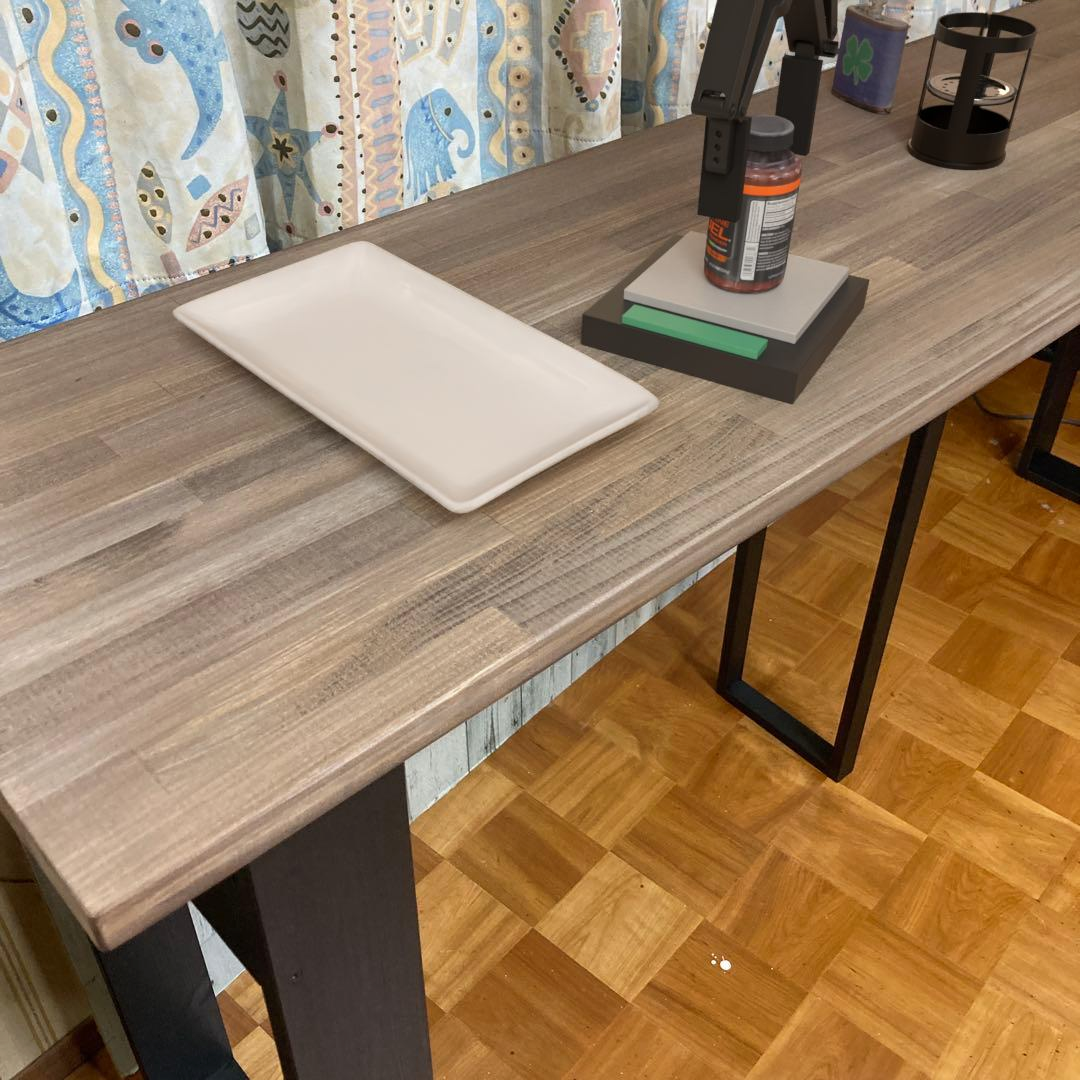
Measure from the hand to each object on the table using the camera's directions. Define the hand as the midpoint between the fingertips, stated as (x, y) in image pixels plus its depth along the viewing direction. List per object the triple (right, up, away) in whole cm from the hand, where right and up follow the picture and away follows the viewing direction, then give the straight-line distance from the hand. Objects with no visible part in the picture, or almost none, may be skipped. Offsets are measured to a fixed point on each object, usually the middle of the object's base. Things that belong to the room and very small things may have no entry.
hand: (756, 182), depth 78 cm
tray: (-24, -15, -2) cm, 28 cm away
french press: (+27, +14, +35) cm, 46 cm away
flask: (+20, +24, +46) cm, 56 cm away
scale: (-1, -9, +5) cm, 10 cm away
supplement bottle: (0, -6, +5) cm, 7 cm away
